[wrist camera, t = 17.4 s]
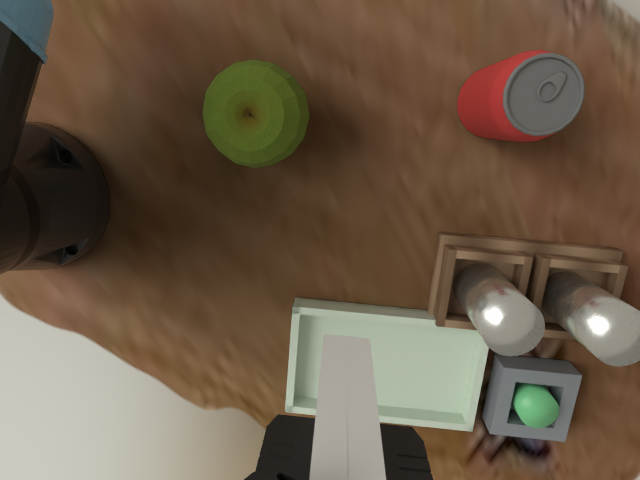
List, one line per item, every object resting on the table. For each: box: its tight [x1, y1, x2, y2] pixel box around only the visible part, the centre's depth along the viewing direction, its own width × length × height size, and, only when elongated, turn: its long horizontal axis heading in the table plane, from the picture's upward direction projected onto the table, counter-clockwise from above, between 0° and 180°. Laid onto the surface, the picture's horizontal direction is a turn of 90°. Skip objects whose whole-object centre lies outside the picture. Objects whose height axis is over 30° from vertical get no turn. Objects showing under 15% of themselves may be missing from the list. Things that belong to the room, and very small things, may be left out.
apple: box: [202, 59, 310, 168], centre depth 39 cm, size 9×8×12 cm
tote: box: [285, 297, 489, 432], centre depth 49 cm, size 21×13×2 cm, turn 85°
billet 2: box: [541, 271, 640, 366], centre depth 41 cm, size 5×5×10 cm
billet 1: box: [453, 263, 545, 356], centre depth 41 cm, size 5×5×10 cm
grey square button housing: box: [482, 353, 582, 442], centre depth 49 cm, size 8×8×3 cm
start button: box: [511, 382, 559, 428], centre depth 48 cm, size 4×4×3 cm
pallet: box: [427, 232, 629, 341], centre depth 46 cm, size 18×10×3 cm, turn 85°
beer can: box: [458, 50, 585, 142], centre depth 37 cm, size 7×7×12 cm
